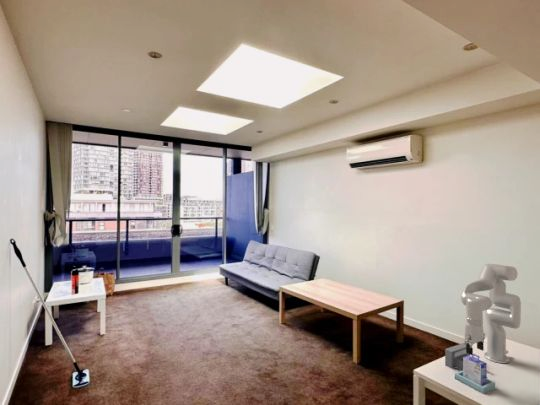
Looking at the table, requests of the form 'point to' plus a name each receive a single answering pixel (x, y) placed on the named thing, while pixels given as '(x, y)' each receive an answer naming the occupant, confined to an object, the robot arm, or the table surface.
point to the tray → (473, 385)
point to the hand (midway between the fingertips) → (474, 351)
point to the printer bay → (455, 356)
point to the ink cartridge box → (475, 370)
